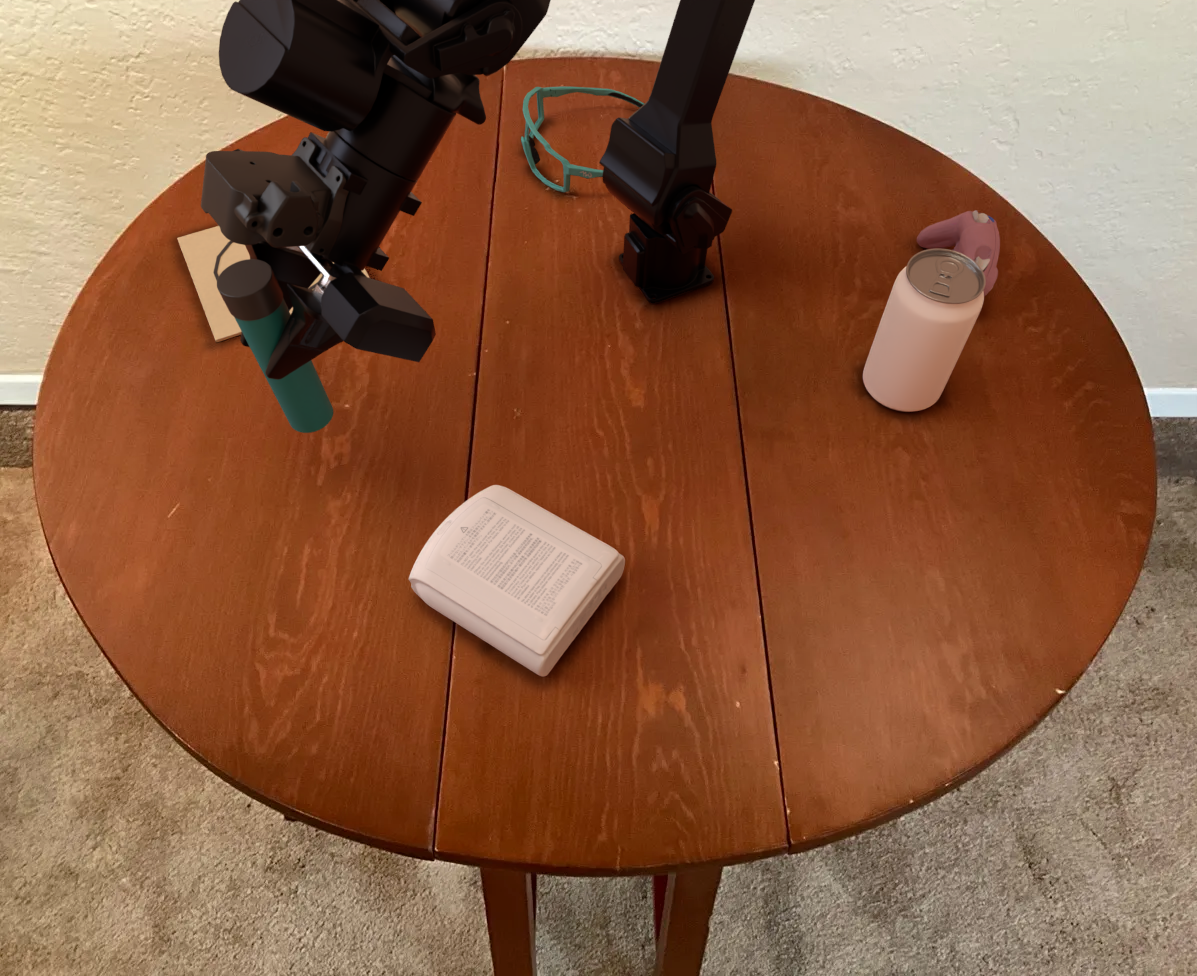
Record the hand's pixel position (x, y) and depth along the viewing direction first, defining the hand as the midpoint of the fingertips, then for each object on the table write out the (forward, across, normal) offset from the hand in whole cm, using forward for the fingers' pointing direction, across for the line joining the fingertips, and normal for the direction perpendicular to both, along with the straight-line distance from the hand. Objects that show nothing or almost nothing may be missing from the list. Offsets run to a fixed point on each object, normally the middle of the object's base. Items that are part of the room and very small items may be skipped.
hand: (259, 361), depth 63 cm
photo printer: (+1, +24, +14) cm, 27 cm away
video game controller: (-30, +16, +48) cm, 59 cm away
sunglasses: (-20, -17, +38) cm, 47 cm away
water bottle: (+3, 0, +6) cm, 7 cm away
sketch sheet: (+3, -22, +15) cm, 27 cm away
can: (-21, +22, +39) cm, 50 cm away
